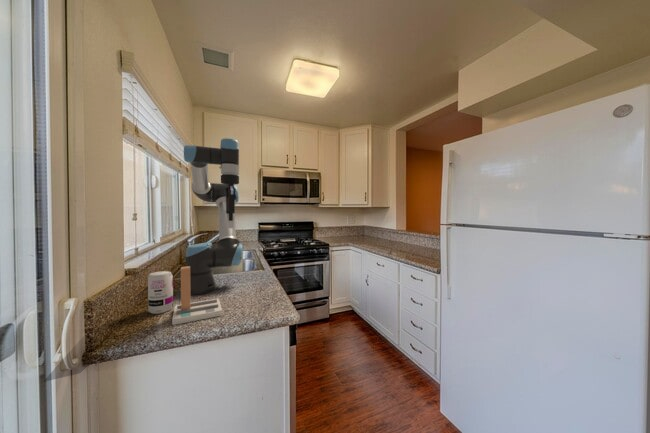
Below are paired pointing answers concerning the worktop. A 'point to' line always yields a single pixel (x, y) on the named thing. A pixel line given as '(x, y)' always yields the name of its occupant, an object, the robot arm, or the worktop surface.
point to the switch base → (197, 311)
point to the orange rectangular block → (185, 288)
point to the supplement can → (160, 292)
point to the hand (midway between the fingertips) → (230, 228)
